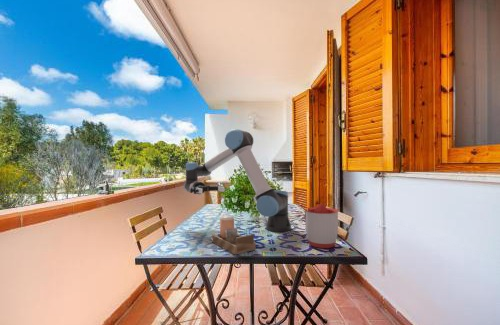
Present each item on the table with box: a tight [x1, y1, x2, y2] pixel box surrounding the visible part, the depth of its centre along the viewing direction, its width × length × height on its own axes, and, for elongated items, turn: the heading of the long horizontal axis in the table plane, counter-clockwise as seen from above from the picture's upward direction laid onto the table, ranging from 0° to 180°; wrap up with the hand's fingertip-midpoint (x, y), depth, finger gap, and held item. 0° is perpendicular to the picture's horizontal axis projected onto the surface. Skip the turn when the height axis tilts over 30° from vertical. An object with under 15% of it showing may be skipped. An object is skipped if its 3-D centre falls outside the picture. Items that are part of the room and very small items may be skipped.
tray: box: [211, 233, 257, 255], centre depth 123 cm, size 22×11×7 cm, turn 35°
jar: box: [219, 214, 235, 240], centre depth 127 cm, size 7×7×12 cm
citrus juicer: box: [301, 203, 339, 249], centre depth 123 cm, size 16×17×20 cm
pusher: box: [225, 226, 238, 243], centre depth 124 cm, size 1×6×7 cm, turn 125°
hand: (213, 190), depth 140 cm, fingers open, 13 cm apart
